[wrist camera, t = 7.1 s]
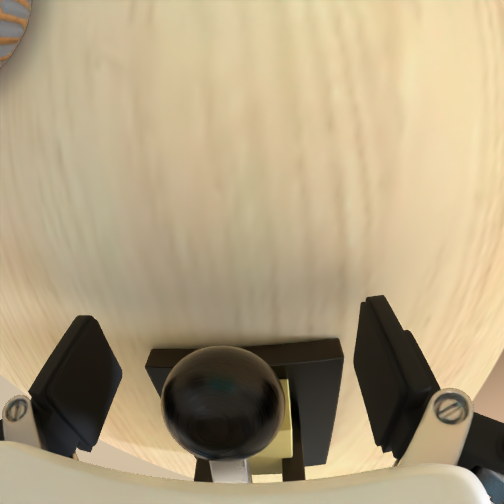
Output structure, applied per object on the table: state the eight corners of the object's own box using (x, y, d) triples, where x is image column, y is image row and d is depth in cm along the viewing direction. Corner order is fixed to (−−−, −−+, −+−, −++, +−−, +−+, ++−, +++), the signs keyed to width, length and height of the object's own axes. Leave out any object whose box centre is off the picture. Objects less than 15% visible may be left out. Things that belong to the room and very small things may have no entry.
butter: (200, 381, 13) (191, 431, 11) (287, 377, 13) (292, 429, 10) (220, 433, 15) (216, 474, 13) (290, 431, 15) (293, 473, 12)
